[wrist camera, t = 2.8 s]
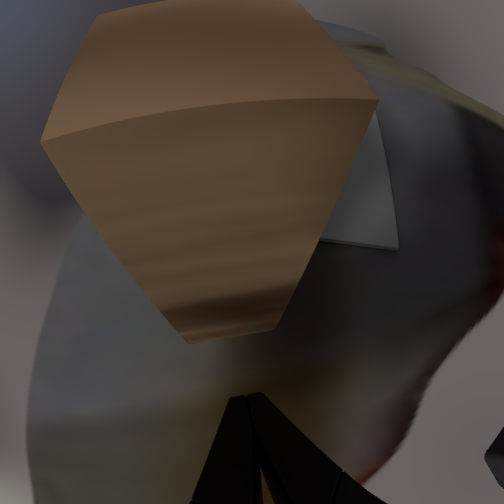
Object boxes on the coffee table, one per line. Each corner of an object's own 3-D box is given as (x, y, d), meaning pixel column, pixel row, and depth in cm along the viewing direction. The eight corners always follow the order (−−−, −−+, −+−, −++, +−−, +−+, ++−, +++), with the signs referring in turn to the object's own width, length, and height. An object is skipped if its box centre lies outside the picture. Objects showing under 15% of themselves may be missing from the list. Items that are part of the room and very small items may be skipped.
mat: (396, 251, 19) (399, 248, 18) (168, 223, 19) (167, 219, 18) (366, 83, 26) (367, 80, 26) (220, 63, 27) (220, 60, 26)
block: (274, 329, 16) (378, 99, 4) (188, 343, 16) (39, 142, 3) (258, 252, 18) (290, -7, 6) (178, 264, 18) (97, 15, 5)
